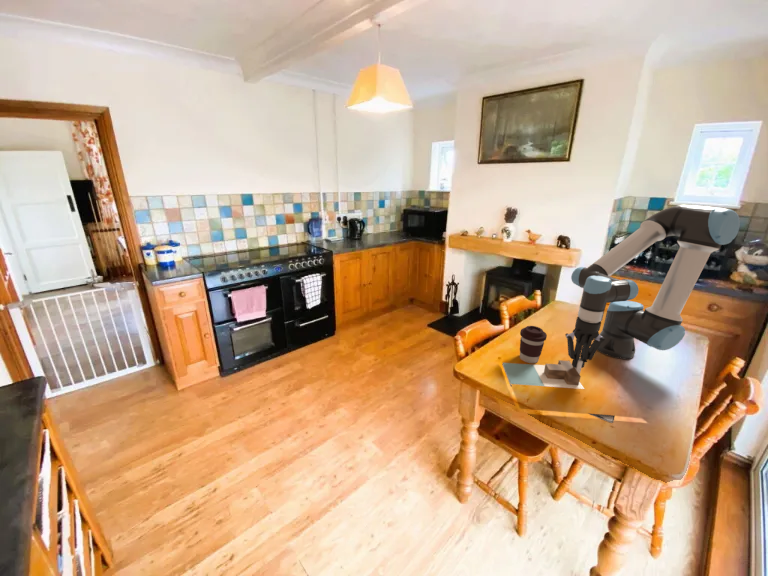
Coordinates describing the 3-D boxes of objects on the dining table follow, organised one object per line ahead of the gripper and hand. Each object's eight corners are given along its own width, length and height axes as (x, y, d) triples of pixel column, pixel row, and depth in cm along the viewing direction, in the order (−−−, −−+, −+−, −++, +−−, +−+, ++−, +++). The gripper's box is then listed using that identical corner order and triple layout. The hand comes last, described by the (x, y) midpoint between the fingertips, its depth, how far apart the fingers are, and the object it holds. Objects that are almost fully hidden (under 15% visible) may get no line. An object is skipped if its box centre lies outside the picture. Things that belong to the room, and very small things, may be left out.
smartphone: (618, 398, 114) (613, 422, 104) (617, 400, 115) (612, 424, 104) (594, 390, 119) (586, 412, 108) (593, 391, 119) (586, 414, 108)
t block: (567, 369, 129) (569, 360, 128) (578, 385, 120) (580, 376, 119) (541, 367, 130) (543, 359, 129) (550, 383, 121) (552, 374, 120)
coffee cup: (544, 368, 132) (550, 336, 127) (518, 365, 134) (523, 334, 128) (538, 355, 141) (544, 324, 136) (514, 353, 143) (519, 322, 138)
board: (568, 369, 131) (569, 366, 131) (584, 391, 118) (584, 388, 118) (502, 365, 134) (502, 362, 134) (510, 386, 121) (511, 383, 121)
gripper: (603, 315, 118) (589, 369, 127) (565, 313, 120) (554, 367, 128) (614, 324, 111) (598, 381, 120) (574, 322, 113) (561, 378, 121)
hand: (575, 373), depth 124 cm, fingers closed
